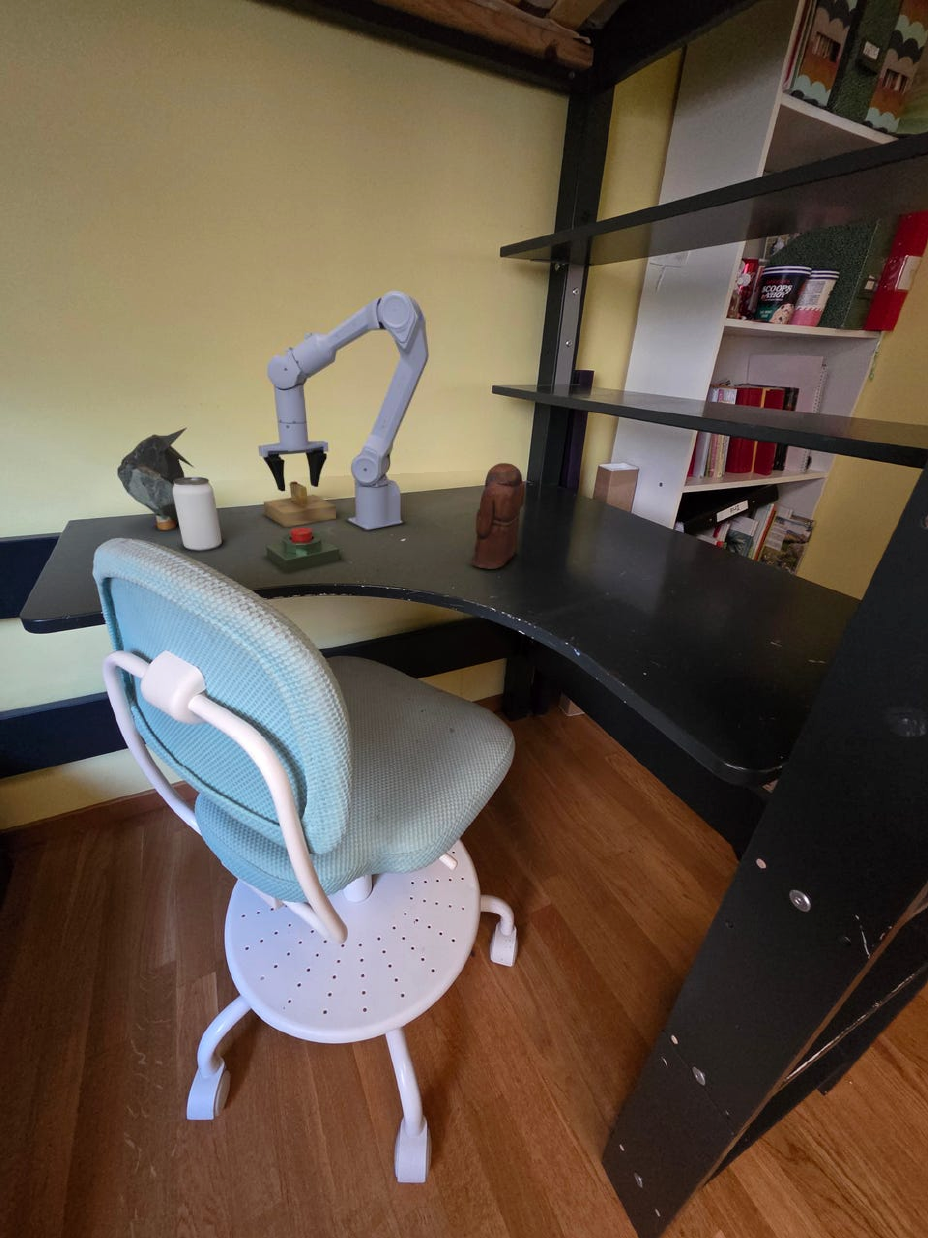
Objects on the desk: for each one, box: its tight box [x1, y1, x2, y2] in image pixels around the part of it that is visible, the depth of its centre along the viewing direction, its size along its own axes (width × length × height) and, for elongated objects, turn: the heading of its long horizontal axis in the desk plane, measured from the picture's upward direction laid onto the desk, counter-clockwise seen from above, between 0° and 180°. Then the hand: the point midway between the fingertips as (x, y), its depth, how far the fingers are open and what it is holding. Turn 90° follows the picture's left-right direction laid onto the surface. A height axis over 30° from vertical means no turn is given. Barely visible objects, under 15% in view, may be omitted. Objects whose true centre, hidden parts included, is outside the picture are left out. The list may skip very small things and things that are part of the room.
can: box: [173, 476, 223, 552], centre depth 92 cm, size 6×6×12 cm
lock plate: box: [263, 494, 337, 528], centre depth 113 cm, size 12×10×3 cm
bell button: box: [289, 527, 313, 542], centre depth 90 cm, size 4×4×2 cm
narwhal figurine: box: [117, 427, 194, 531], centre depth 101 cm, size 14×15×18 cm
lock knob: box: [289, 480, 308, 506], centre depth 111 cm, size 5×1×4 cm, turn 42°
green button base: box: [265, 532, 340, 573], centre depth 92 cm, size 10×8×4 cm
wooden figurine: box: [472, 462, 526, 570], centre depth 94 cm, size 12×6×18 cm, turn 156°
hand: (298, 488), depth 111 cm, fingers open, 7 cm apart
